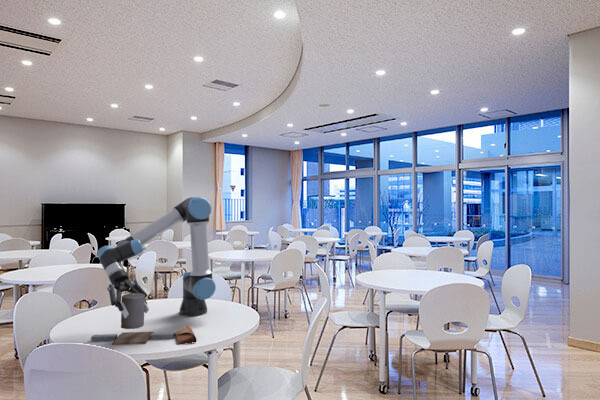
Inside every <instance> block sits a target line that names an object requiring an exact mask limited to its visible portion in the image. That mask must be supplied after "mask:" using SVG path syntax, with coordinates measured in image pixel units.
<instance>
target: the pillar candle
mask: <svg viewBox="0 0 600 400" xmlns="http://www.w3.org/2000/svg"><path fill="white" fill-rule="evenodd" d="M145 300H146V298H145V295H144V294H140V293H126V294H122V295H121V302H123V303H124V305H125V307H126V309H127V311H128V313H129V315H128V316H127V318H124V316H123V314H122V312H121V311H120V313H121V316H120V328H121V329H123V330H135V329H139V328H142V327H144V326H145V312H144V305H145Z"/></svg>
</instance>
